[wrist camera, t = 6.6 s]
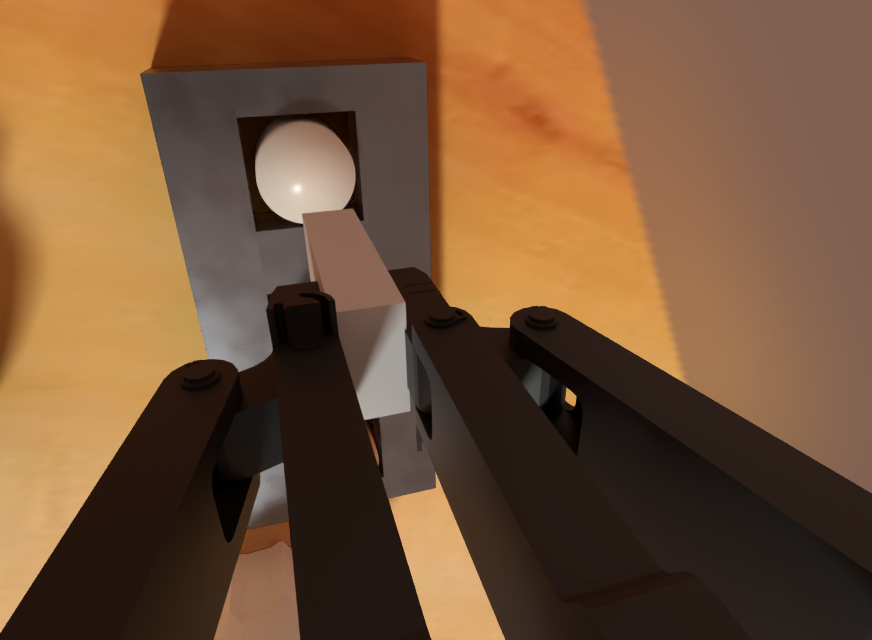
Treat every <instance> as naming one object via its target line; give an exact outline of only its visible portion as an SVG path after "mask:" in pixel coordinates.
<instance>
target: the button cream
mask: <svg viewBox="0 0 872 640" xmlns="http://www.w3.org/2000/svg"><path fill="white" fill-rule="evenodd" d="M255 171H256V182H257V186H258V189H259V192H260V194H261V196H262V198H263V200H264V201H265V203H266V204H267V205H268V206H269V207H270V208H271V210H273V211H274V212H275V213H276V214H278V215H279V216H281V217H283V218H285V219H287V220H289V221H292V222H296V223H301V224H303V219H302V214H303V213H313V212H322V211H332V210H342V209H343V208H344V207H345V206H346V204H347V203H348V201H349V200H350V198H351V196H352V193H353V190H354V186H355V179H356V178H355V166H354V163H353V160H352V157H351V155H350V153H349V151H348V150H347V148H346V147H345V145H344V144H343V143H342V141H341V140H340V139H339V137H338V136H337V135H336V133H335V132H334V131H333V129H332V128H331V127H330V126H329V125H327V124H326V123H325V122H323V121H322V120H320V119H318V118H316V117H313V116H310V115H307V114H290V115H285V116H282V117H279V118H277V119H276V120H274V121H272V122H271V123H270V124H269V125H268V126H267V127H266V128H265V129H264V130H263V131H262V133H261V134H260V136H259V138H258V141H257V144H256V148H255Z"/></svg>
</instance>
